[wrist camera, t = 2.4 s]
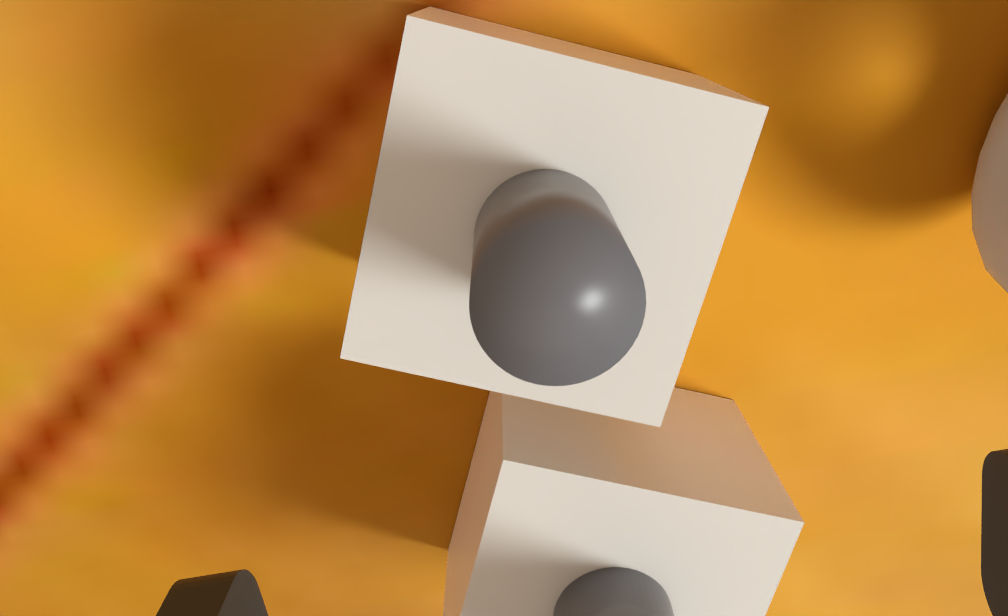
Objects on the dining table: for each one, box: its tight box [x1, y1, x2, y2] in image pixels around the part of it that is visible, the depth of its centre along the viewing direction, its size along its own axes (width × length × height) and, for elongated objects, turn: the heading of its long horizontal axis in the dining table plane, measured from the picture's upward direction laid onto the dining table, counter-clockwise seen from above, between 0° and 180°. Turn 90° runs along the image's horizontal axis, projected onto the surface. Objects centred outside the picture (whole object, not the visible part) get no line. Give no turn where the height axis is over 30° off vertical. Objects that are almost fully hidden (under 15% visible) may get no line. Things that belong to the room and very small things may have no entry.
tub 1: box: [340, 7, 769, 427], centre depth 24 cm, size 9×9×13 cm
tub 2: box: [443, 387, 804, 616], centre depth 28 cm, size 9×9×13 cm
